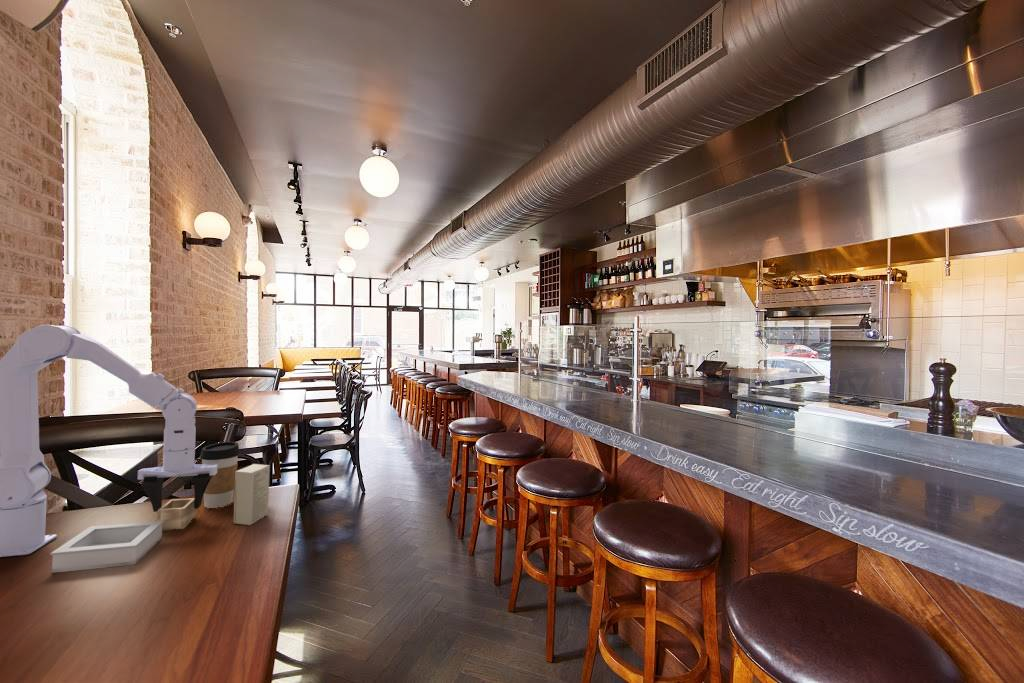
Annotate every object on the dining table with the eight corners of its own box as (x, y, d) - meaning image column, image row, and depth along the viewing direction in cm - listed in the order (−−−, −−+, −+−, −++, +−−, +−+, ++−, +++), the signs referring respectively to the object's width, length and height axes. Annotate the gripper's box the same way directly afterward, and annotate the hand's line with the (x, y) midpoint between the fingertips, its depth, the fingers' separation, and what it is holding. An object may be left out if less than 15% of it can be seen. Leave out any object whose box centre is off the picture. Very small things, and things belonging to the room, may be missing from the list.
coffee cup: (246, 501, 113) (248, 443, 113) (214, 513, 105) (216, 450, 105) (222, 496, 116) (224, 440, 116) (189, 507, 108) (191, 446, 108)
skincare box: (252, 513, 106) (254, 463, 106) (269, 515, 105) (270, 464, 105) (232, 524, 99) (234, 470, 99) (249, 526, 99) (251, 472, 99)
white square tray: (49, 573, 77) (50, 553, 77) (89, 544, 88) (90, 526, 88) (135, 564, 81) (136, 545, 81) (163, 537, 92) (163, 520, 92)
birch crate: (156, 531, 95) (157, 510, 95) (169, 519, 101) (170, 499, 101) (184, 528, 96) (184, 508, 96) (195, 517, 102) (195, 498, 102)
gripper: (131, 454, 92) (129, 518, 92) (210, 451, 97) (208, 512, 97) (147, 446, 99) (145, 506, 99) (221, 443, 104) (219, 500, 104)
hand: (177, 508), depth 99 cm, fingers open, 7 cm apart
